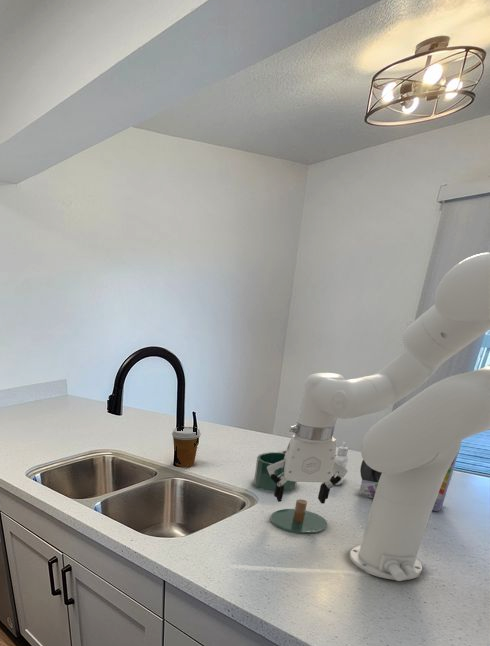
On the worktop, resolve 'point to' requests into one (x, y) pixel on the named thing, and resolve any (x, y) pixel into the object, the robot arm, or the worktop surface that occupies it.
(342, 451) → the eye dropper bottle
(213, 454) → the worktop surface
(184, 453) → the disposable coffee cup
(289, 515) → the lid
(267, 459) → the canister
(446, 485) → the cake pan box
